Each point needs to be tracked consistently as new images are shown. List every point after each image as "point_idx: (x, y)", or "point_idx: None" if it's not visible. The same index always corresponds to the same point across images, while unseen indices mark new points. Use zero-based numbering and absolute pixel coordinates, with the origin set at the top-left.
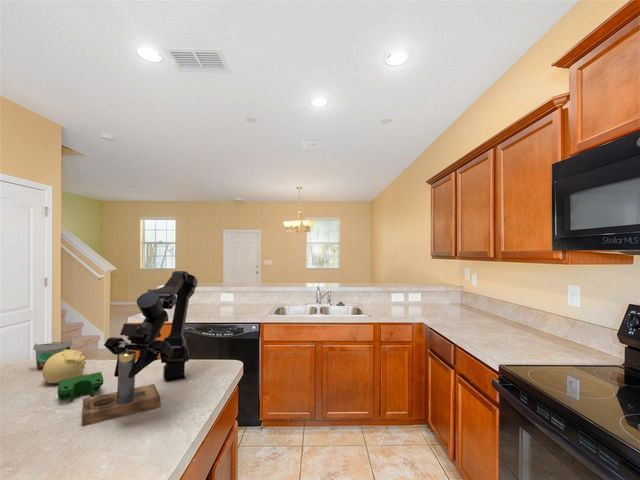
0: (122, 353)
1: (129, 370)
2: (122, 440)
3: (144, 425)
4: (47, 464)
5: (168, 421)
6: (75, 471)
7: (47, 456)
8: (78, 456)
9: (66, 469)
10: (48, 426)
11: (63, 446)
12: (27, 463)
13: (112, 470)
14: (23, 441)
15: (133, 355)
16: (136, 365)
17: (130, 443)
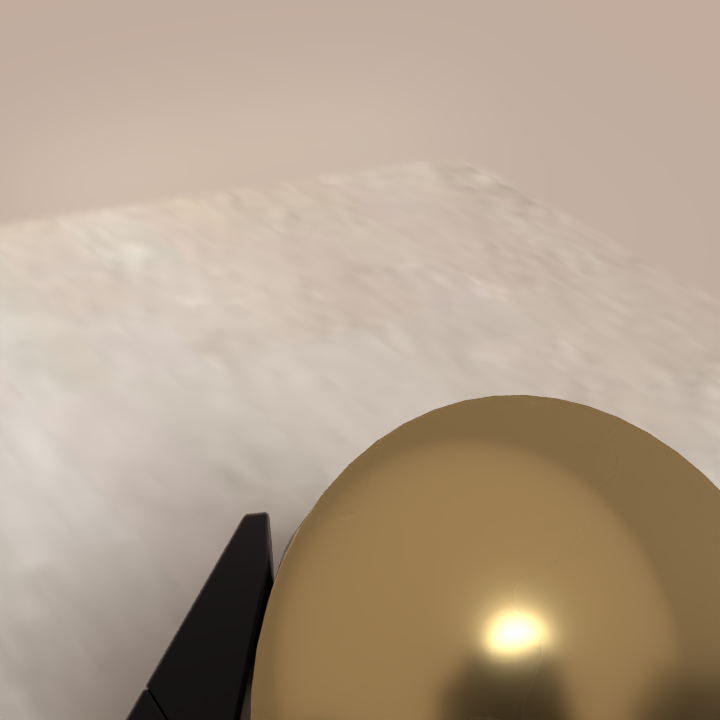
0: (697, 592)
1: (288, 545)
2: (203, 424)
3: (189, 599)
4: (379, 216)
5: (43, 709)
6: (228, 205)
7: (432, 251)
8: (307, 276)
9: (275, 207)
10: (686, 422)
11: (442, 315)
12: (457, 207)
13: (72, 236)
14: (639, 305)
15: (260, 693)
16: (188, 656)
17: (136, 413)
